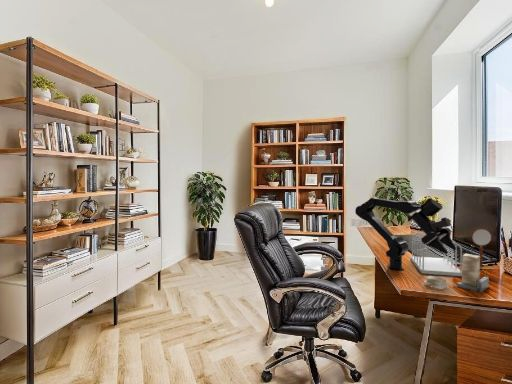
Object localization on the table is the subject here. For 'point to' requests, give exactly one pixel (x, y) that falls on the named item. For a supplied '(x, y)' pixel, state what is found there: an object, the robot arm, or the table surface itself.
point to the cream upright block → (470, 269)
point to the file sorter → (436, 261)
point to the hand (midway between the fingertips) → (451, 251)
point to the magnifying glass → (481, 240)
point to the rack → (480, 287)
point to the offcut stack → (436, 282)
